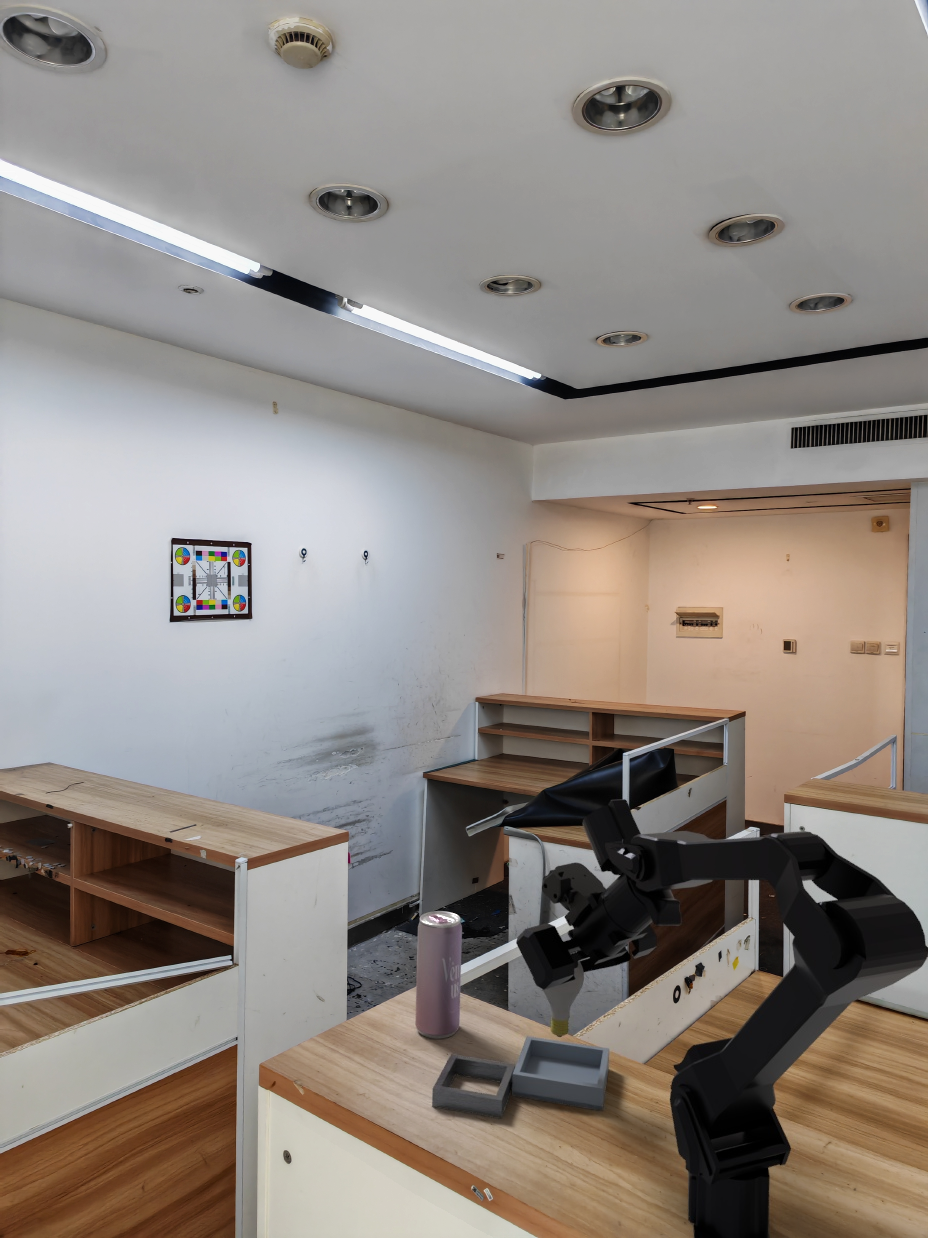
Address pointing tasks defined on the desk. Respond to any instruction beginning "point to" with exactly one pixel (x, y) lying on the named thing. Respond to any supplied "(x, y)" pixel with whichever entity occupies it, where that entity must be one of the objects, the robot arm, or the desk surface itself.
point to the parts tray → (562, 1073)
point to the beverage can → (438, 974)
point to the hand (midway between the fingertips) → (553, 976)
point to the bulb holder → (469, 1099)
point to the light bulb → (563, 1001)
